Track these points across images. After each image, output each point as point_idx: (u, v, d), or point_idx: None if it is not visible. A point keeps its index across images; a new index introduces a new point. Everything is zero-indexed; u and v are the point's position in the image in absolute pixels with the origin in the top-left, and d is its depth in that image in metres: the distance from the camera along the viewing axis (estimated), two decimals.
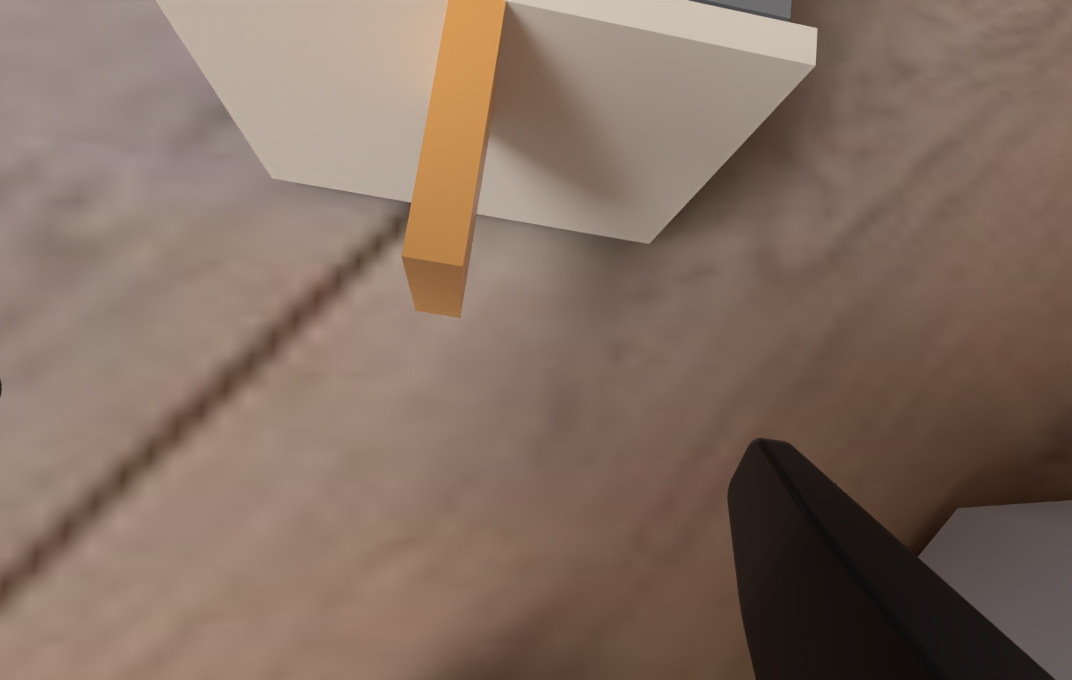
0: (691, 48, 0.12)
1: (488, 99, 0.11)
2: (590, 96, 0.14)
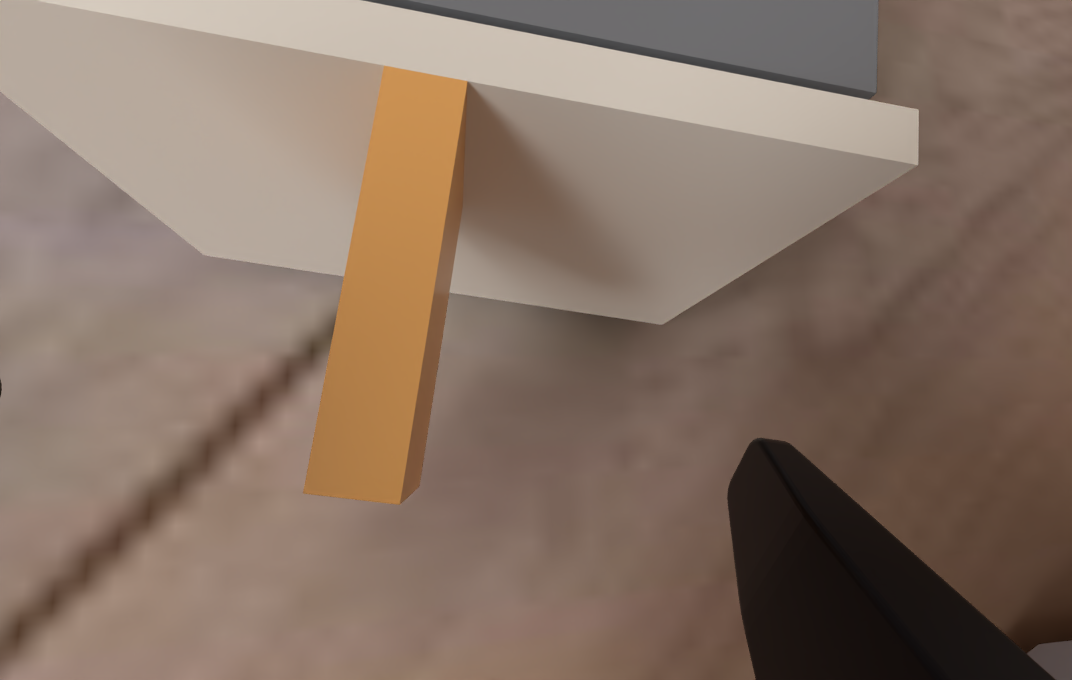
0: (739, 142, 0.08)
1: (441, 234, 0.07)
2: (592, 190, 0.10)
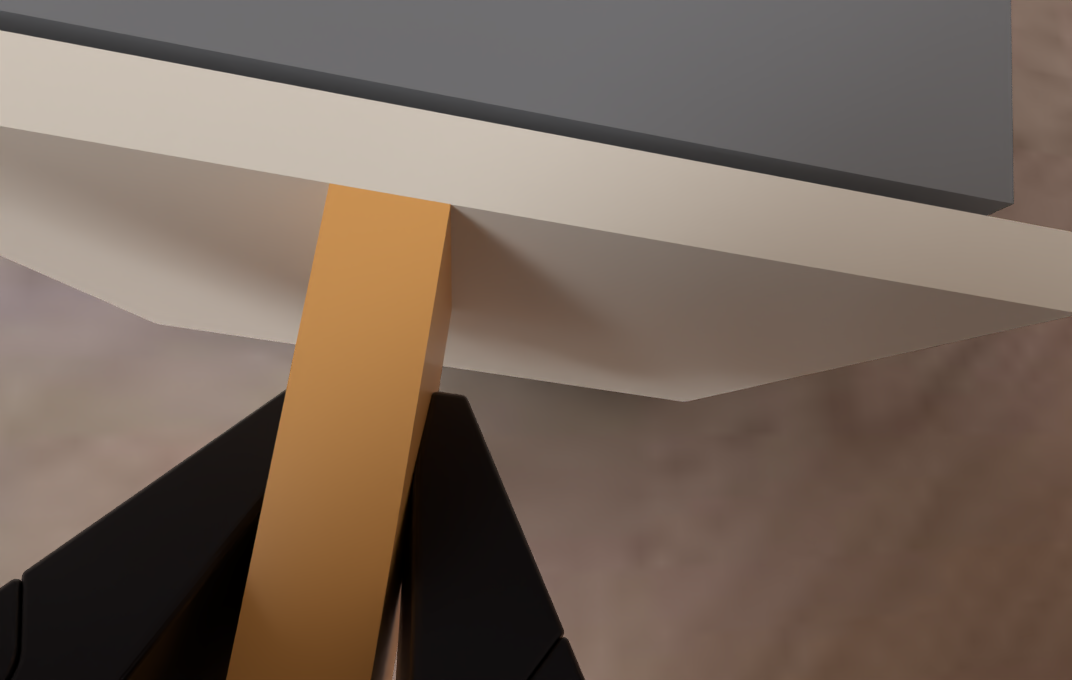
0: (831, 279, 0.06)
1: (408, 438, 0.05)
2: (618, 307, 0.08)
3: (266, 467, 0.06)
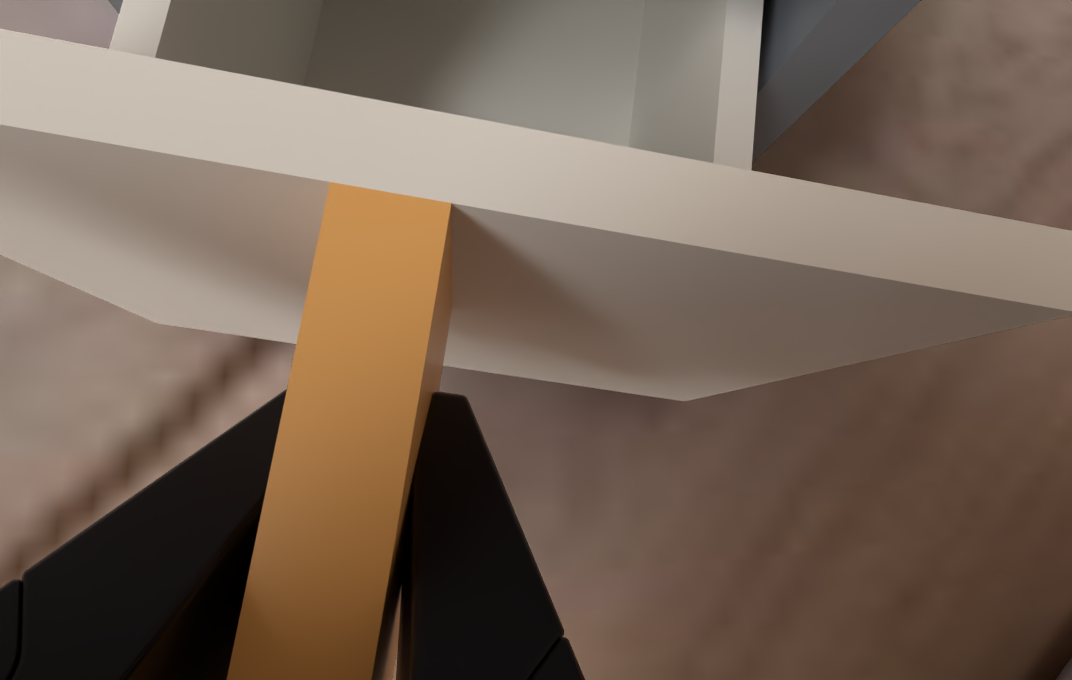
0: (832, 278, 0.06)
1: (408, 437, 0.05)
2: (618, 306, 0.08)
3: (266, 467, 0.06)
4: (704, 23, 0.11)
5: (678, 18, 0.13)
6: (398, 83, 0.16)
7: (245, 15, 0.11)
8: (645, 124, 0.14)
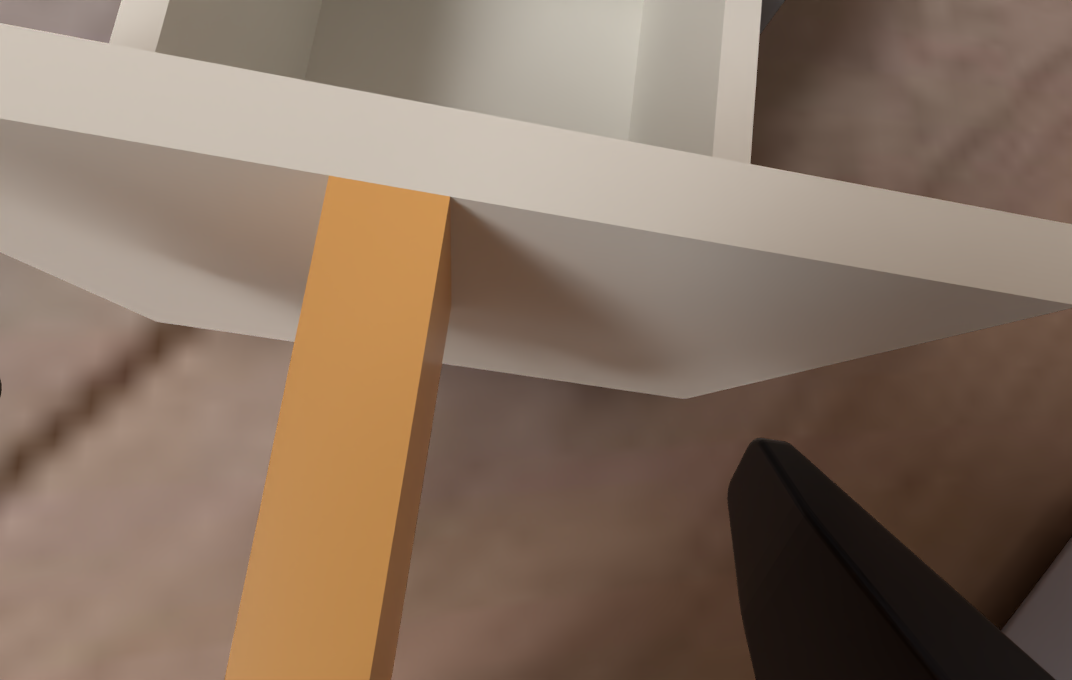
0: (832, 272, 0.06)
1: (408, 430, 0.05)
2: (617, 301, 0.08)
3: None
4: (703, 20, 0.11)
5: (677, 16, 0.13)
6: (398, 81, 0.16)
7: (244, 13, 0.11)
8: (644, 122, 0.15)
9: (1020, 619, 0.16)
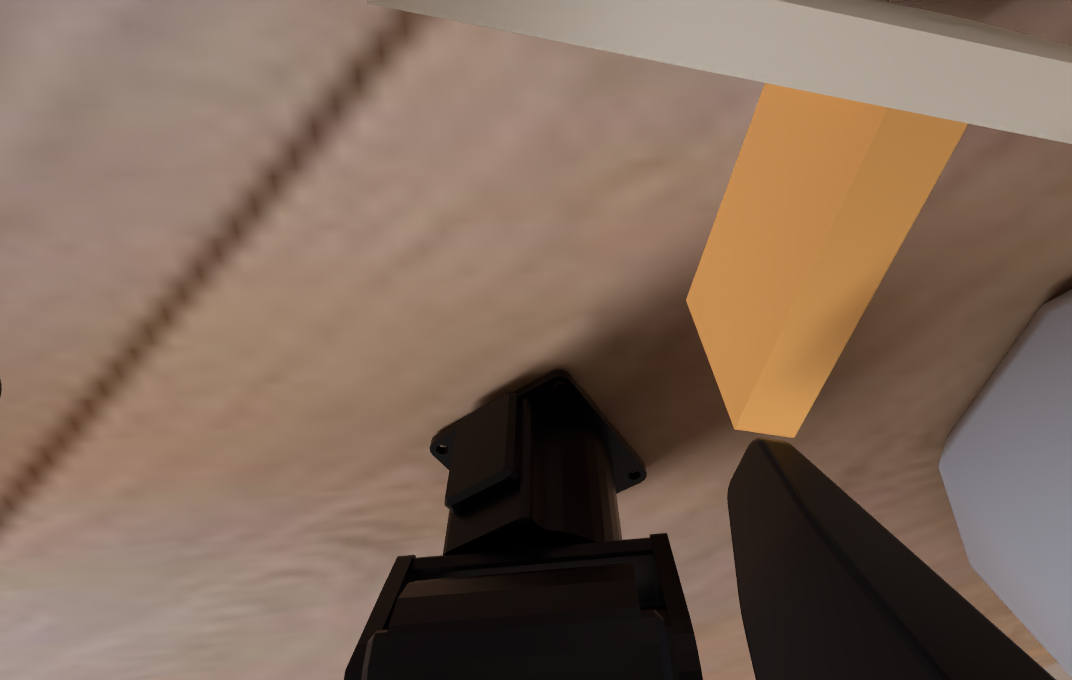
0: None
1: (884, 270, 0.08)
2: None
3: None
4: None
5: None
6: None
7: None
8: None
9: None
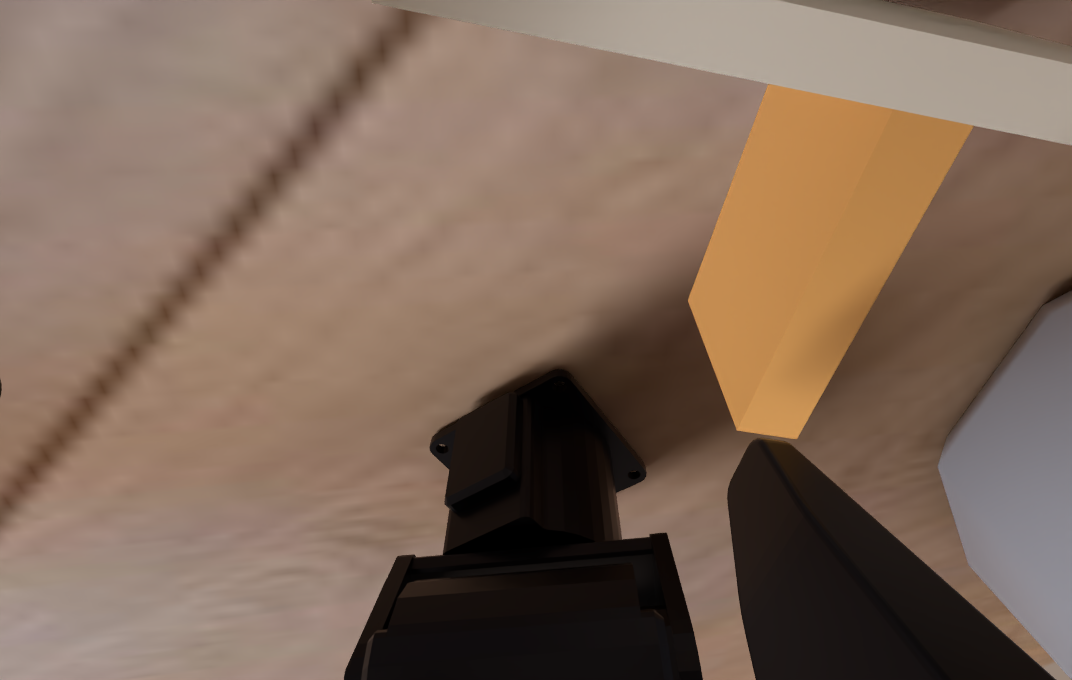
0: None
1: (888, 272, 0.08)
2: None
3: None
4: None
5: None
6: None
7: None
8: None
9: None
